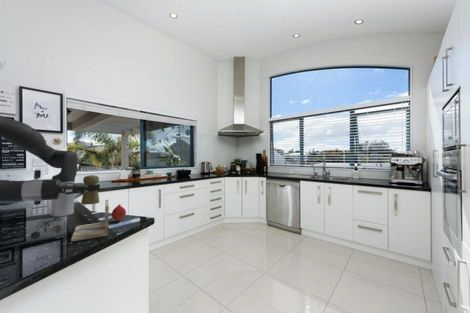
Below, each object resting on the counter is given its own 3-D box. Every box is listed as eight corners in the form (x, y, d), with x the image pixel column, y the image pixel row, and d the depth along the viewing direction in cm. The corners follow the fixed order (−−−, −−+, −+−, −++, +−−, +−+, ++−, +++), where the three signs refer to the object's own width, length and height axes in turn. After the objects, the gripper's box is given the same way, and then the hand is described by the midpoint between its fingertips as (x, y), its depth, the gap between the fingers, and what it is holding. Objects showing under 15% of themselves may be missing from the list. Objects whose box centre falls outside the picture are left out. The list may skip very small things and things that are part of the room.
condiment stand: (76, 228, 84) (77, 202, 85) (107, 224, 90) (108, 199, 91) (71, 241, 71) (72, 210, 71) (107, 235, 77) (108, 206, 77)
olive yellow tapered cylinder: (89, 204, 77) (90, 176, 78) (77, 203, 79) (78, 175, 79) (103, 201, 83) (104, 175, 84) (91, 200, 85) (92, 174, 85)
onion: (110, 224, 91) (110, 206, 91) (112, 220, 96) (112, 203, 96) (125, 222, 93) (125, 205, 93) (126, 219, 98) (126, 202, 99)
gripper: (37, 181, 67) (99, 179, 76) (47, 177, 79) (100, 176, 88) (36, 203, 67) (98, 199, 76) (46, 197, 79) (99, 194, 88)
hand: (99, 187), depth 82 cm, fingers closed on olive yellow tapered cylinder, 3 cm apart
